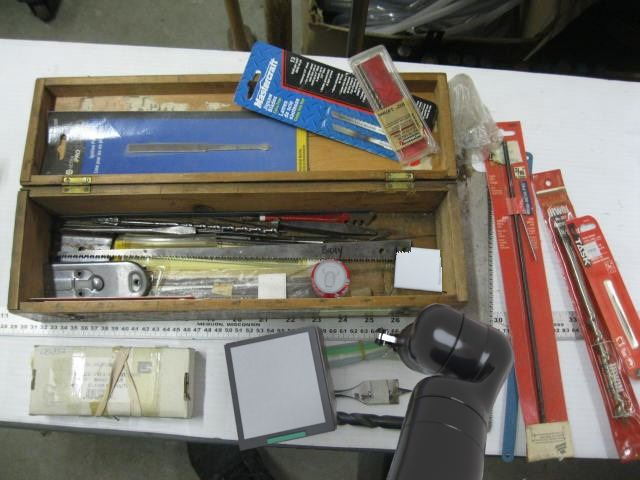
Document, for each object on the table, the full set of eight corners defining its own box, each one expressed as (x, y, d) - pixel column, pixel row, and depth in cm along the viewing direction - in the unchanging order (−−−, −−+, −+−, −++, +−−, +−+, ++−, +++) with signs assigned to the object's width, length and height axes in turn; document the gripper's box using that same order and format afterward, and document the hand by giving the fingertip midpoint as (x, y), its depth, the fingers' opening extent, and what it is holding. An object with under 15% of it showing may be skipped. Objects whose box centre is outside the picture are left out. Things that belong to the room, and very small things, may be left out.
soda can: (351, 269, 90) (353, 259, 78) (346, 305, 89) (347, 299, 77) (315, 264, 91) (312, 253, 79) (310, 300, 89) (306, 294, 77)
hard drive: (395, 247, 91) (458, 253, 90) (393, 287, 89) (456, 294, 88) (396, 245, 89) (460, 251, 89) (394, 286, 88) (459, 293, 87)
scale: (335, 427, 60) (335, 432, 58) (242, 447, 60) (238, 452, 58) (315, 326, 63) (314, 325, 61) (227, 344, 63) (222, 345, 61)
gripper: (371, 360, 63) (364, 356, 80) (474, 387, 62) (445, 378, 78) (383, 307, 65) (374, 314, 81) (484, 333, 63) (453, 335, 80)
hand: (409, 346), depth 80 cm, fingers closed on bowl, 5 cm apart
